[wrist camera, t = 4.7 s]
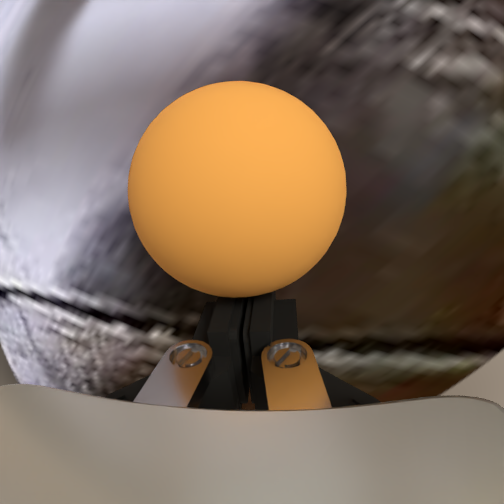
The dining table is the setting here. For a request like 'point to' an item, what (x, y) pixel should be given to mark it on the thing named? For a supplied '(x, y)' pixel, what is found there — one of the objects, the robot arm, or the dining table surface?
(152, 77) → the dining table surface
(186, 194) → the ball
